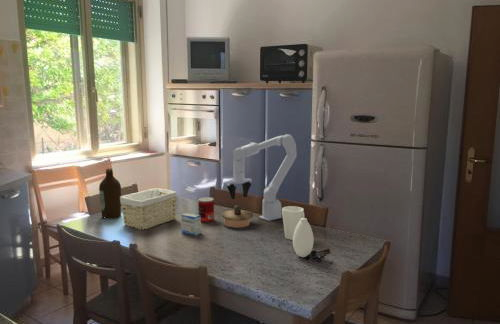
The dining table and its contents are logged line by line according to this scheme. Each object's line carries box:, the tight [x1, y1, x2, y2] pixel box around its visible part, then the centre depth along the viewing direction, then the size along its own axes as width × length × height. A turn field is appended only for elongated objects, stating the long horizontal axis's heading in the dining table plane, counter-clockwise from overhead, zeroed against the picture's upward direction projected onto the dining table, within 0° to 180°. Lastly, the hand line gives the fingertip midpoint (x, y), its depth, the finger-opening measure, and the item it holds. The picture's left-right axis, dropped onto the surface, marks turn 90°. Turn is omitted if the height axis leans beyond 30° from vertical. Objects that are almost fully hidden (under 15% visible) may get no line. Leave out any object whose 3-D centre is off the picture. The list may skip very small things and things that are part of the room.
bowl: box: [224, 219, 251, 229], centre depth 207 cm, size 12×12×4 cm
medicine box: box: [180, 212, 202, 236], centre depth 193 cm, size 8×4×9 cm, turn 62°
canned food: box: [197, 196, 215, 223], centre depth 212 cm, size 8×8×11 cm
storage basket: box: [120, 187, 178, 231], centre depth 208 cm, size 24×16×15 cm
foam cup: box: [281, 205, 305, 241], centre depth 187 cm, size 10×9×13 cm
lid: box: [221, 204, 254, 221], centre depth 206 cm, size 15×15×5 cm
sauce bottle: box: [292, 212, 315, 258], centre depth 164 cm, size 8×8×18 cm
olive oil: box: [98, 168, 122, 219], centre depth 217 cm, size 11×11×25 cm
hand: (239, 197), depth 216 cm, fingers open, 7 cm apart
